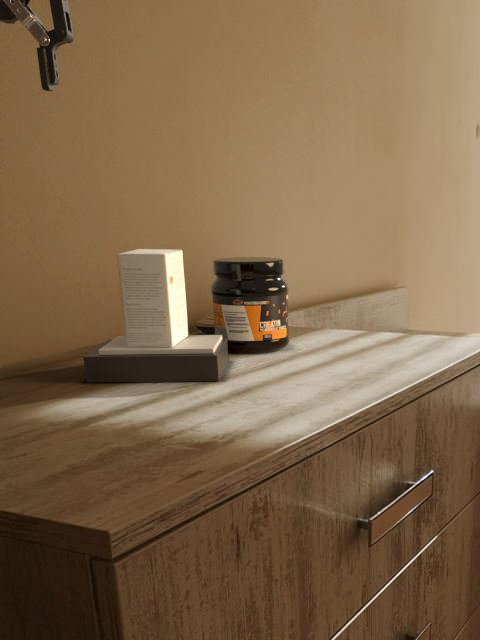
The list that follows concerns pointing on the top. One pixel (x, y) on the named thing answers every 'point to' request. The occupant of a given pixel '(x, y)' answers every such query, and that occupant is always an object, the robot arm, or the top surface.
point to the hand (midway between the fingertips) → (5, 90)
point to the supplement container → (251, 304)
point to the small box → (153, 297)
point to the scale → (158, 361)
